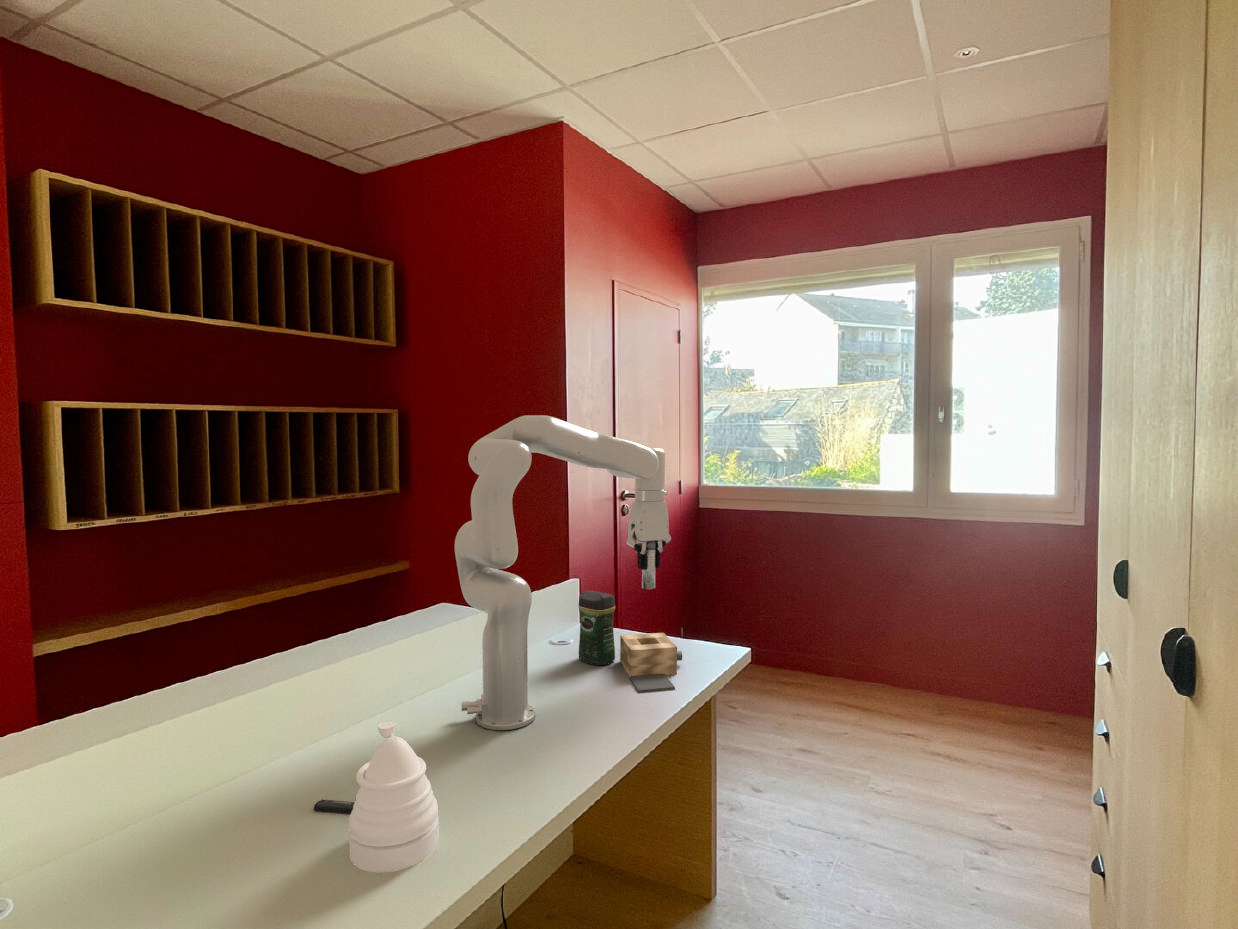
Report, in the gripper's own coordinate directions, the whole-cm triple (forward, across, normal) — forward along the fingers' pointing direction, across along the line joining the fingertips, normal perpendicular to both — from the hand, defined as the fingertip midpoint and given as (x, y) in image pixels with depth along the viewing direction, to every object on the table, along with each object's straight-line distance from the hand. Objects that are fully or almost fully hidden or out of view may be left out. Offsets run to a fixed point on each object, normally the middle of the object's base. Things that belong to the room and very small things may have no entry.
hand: (648, 567), depth 175 cm
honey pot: (+28, +75, +38) cm, 88 cm away
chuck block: (+27, -3, -1) cm, 27 cm away
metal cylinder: (+5, 0, 0) cm, 5 cm away
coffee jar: (+27, +7, -13) cm, 31 cm away
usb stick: (+28, +79, +24) cm, 87 cm away
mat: (+27, +4, +8) cm, 28 cm away
